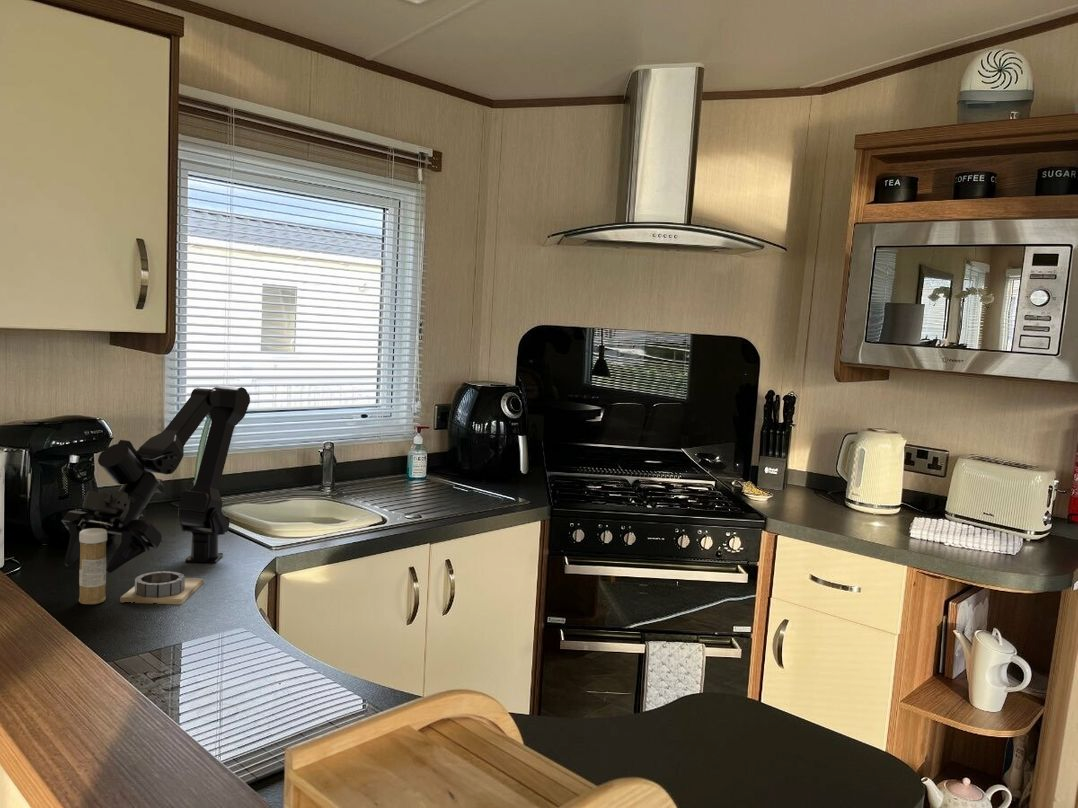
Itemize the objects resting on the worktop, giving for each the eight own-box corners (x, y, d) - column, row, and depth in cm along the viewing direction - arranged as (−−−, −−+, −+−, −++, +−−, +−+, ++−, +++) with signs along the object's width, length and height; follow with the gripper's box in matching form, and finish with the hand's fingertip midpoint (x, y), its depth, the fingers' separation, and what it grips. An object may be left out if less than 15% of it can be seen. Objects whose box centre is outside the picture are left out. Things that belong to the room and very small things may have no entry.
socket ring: (145, 583, 167) (145, 570, 166) (190, 584, 167) (190, 572, 167) (127, 596, 158) (128, 583, 158) (174, 598, 159) (175, 585, 159)
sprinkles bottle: (84, 597, 159) (85, 526, 158) (110, 597, 160) (111, 527, 159) (74, 605, 155) (75, 533, 154) (100, 605, 155) (101, 533, 154)
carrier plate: (147, 581, 171) (147, 571, 171) (203, 583, 172) (203, 573, 171) (120, 602, 158) (120, 591, 158) (181, 604, 159) (181, 594, 159)
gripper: (69, 468, 162) (19, 538, 152) (152, 479, 157) (106, 551, 147) (100, 501, 170) (55, 570, 160) (180, 512, 165) (138, 583, 155)
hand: (87, 568), depth 156 cm, fingers open, 9 cm apart
